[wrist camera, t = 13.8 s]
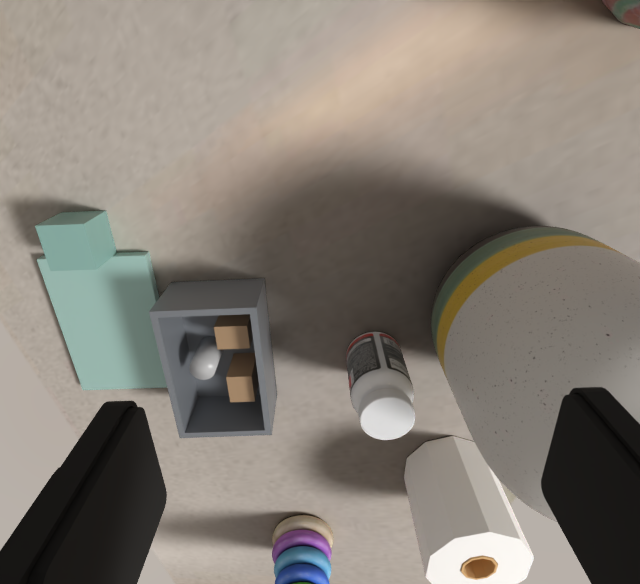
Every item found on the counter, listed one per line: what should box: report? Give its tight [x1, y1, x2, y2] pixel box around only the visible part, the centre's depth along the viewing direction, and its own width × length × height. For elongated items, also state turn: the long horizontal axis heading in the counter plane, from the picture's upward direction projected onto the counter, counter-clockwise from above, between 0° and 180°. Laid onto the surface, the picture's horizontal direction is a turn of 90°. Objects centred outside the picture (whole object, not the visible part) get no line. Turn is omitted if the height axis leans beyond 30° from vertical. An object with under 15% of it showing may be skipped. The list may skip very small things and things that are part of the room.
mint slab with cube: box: [35, 211, 167, 390], centre depth 41 cm, size 19×10×4 cm, turn 2°
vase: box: [431, 226, 640, 522], centre depth 31 cm, size 17×17×24 cm
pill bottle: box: [346, 332, 415, 440], centre depth 40 cm, size 6×6×10 cm
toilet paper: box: [404, 436, 534, 584], centre depth 47 cm, size 10×10×12 cm
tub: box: [149, 278, 277, 438], centre depth 41 cm, size 14×9×6 cm, turn 2°
